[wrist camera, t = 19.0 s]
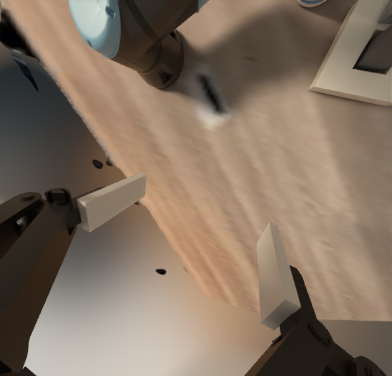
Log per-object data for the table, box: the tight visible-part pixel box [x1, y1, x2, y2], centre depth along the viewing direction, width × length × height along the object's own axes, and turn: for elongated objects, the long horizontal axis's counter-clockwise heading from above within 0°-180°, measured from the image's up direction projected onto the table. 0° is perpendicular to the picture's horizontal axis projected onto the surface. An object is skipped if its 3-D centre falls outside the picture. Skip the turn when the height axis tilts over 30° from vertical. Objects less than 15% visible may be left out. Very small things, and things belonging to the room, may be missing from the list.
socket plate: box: [309, 0, 392, 106], centre depth 29 cm, size 16×14×4 cm
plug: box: [352, 25, 392, 73], centre depth 25 cm, size 4×4×12 cm
